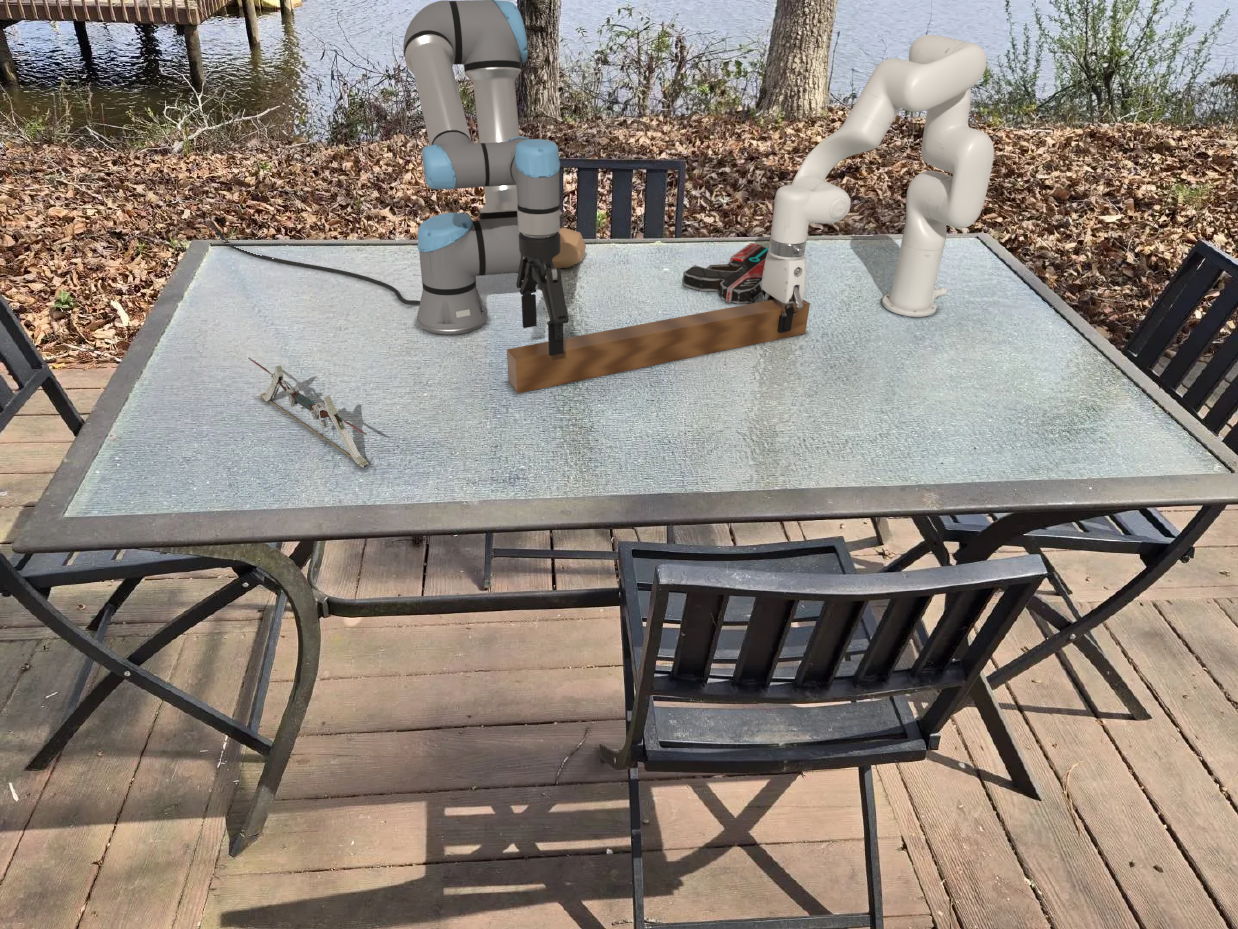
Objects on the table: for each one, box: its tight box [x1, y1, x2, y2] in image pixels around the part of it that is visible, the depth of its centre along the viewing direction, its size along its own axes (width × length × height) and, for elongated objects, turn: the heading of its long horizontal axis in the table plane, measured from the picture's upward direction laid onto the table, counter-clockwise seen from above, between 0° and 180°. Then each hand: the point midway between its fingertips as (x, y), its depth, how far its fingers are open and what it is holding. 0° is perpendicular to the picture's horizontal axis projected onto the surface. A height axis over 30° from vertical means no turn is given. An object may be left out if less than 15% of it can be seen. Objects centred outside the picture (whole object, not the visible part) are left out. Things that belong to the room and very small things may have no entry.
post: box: [506, 298, 811, 394], centre depth 183 cm, size 69×5×7 cm, turn 116°
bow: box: [247, 356, 370, 468], centre depth 154 cm, size 39×2×10 cm, turn 47°
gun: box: [682, 242, 769, 305], centre depth 221 cm, size 4×31×19 cm
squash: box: [552, 227, 587, 269], centre depth 226 cm, size 11×20×9 cm, turn 90°
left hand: (542, 339), depth 169 cm, fingers open, 13 cm apart
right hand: (776, 325), depth 195 cm, fingers closed on post, 5 cm apart
